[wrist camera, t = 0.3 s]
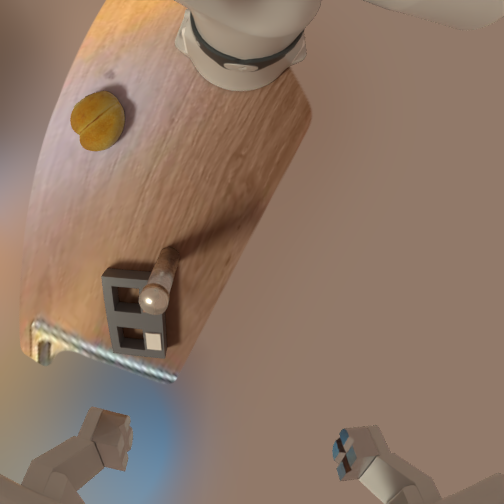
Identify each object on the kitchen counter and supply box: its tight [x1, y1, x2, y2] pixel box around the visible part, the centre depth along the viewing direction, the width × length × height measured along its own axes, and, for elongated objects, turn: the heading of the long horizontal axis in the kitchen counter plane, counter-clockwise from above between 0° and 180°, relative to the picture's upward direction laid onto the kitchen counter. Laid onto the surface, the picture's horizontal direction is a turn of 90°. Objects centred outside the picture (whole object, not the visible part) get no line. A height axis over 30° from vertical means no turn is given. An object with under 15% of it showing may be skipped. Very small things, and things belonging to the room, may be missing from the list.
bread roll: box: [70, 91, 125, 151], centre depth 37 cm, size 8×9×4 cm
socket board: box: [101, 268, 167, 359], centre depth 50 cm, size 16×10×3 cm, turn 174°
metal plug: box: [139, 247, 180, 315], centre depth 42 cm, size 4×4×14 cm
